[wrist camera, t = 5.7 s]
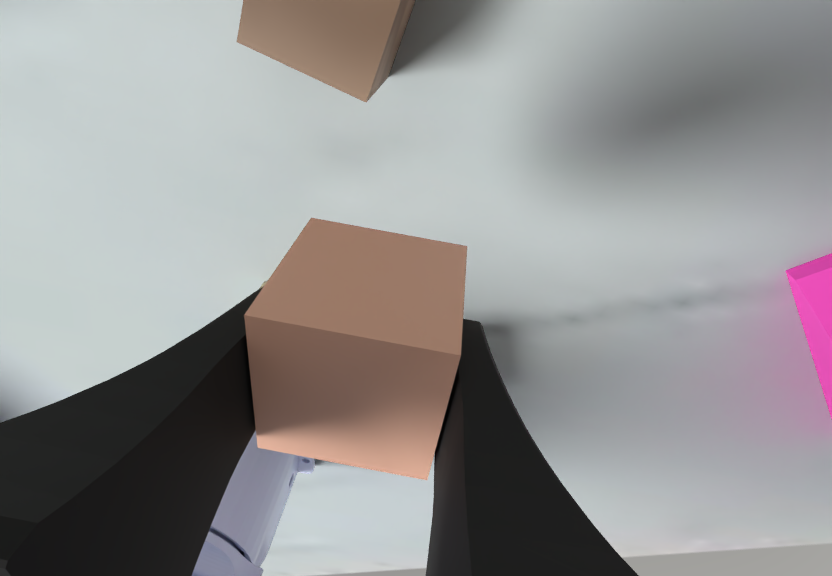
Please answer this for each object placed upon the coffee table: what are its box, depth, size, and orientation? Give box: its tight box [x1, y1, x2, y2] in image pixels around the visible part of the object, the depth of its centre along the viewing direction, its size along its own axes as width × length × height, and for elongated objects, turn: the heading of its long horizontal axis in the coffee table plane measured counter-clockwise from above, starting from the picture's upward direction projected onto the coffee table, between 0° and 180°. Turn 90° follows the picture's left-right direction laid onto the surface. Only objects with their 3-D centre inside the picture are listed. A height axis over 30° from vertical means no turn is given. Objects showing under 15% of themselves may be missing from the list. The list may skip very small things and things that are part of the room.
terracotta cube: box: [244, 218, 467, 480], centre depth 11 cm, size 4×4×4 cm
